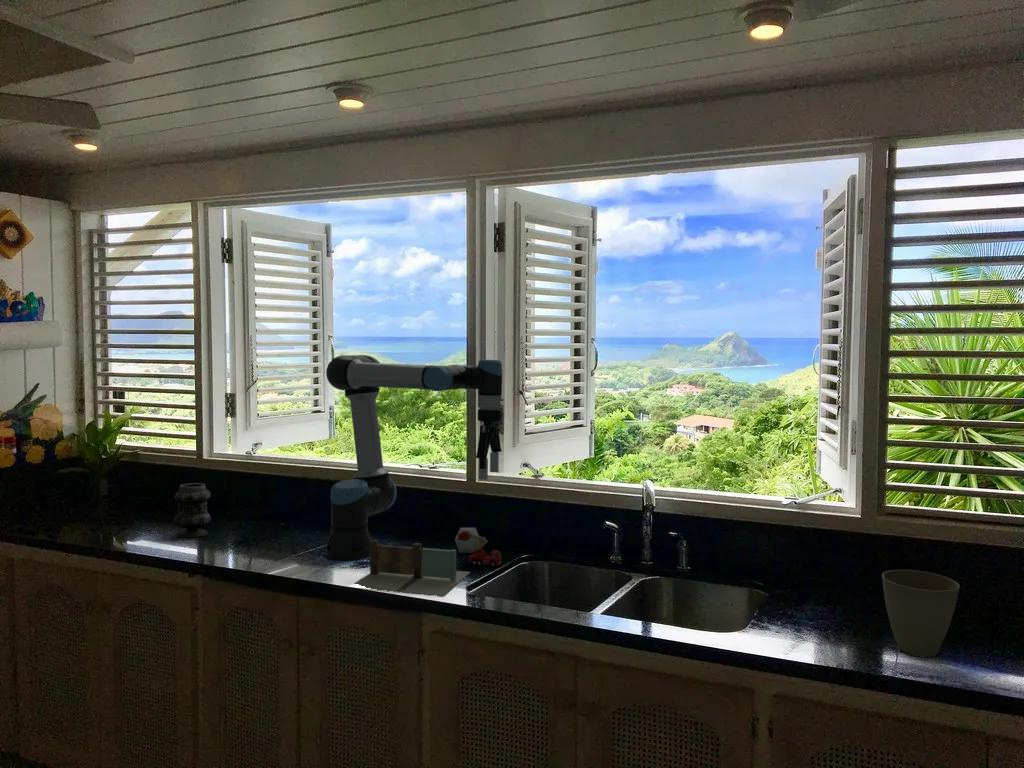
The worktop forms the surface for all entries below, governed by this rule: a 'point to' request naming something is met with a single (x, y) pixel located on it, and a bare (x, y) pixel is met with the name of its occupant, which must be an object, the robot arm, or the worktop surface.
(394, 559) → the base
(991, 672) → the worktop surface
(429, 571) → the green rectangular block
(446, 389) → the robot arm
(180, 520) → the dark grey urn vase
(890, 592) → the plant pot
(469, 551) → the die
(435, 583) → the card
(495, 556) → the toy fire truck
